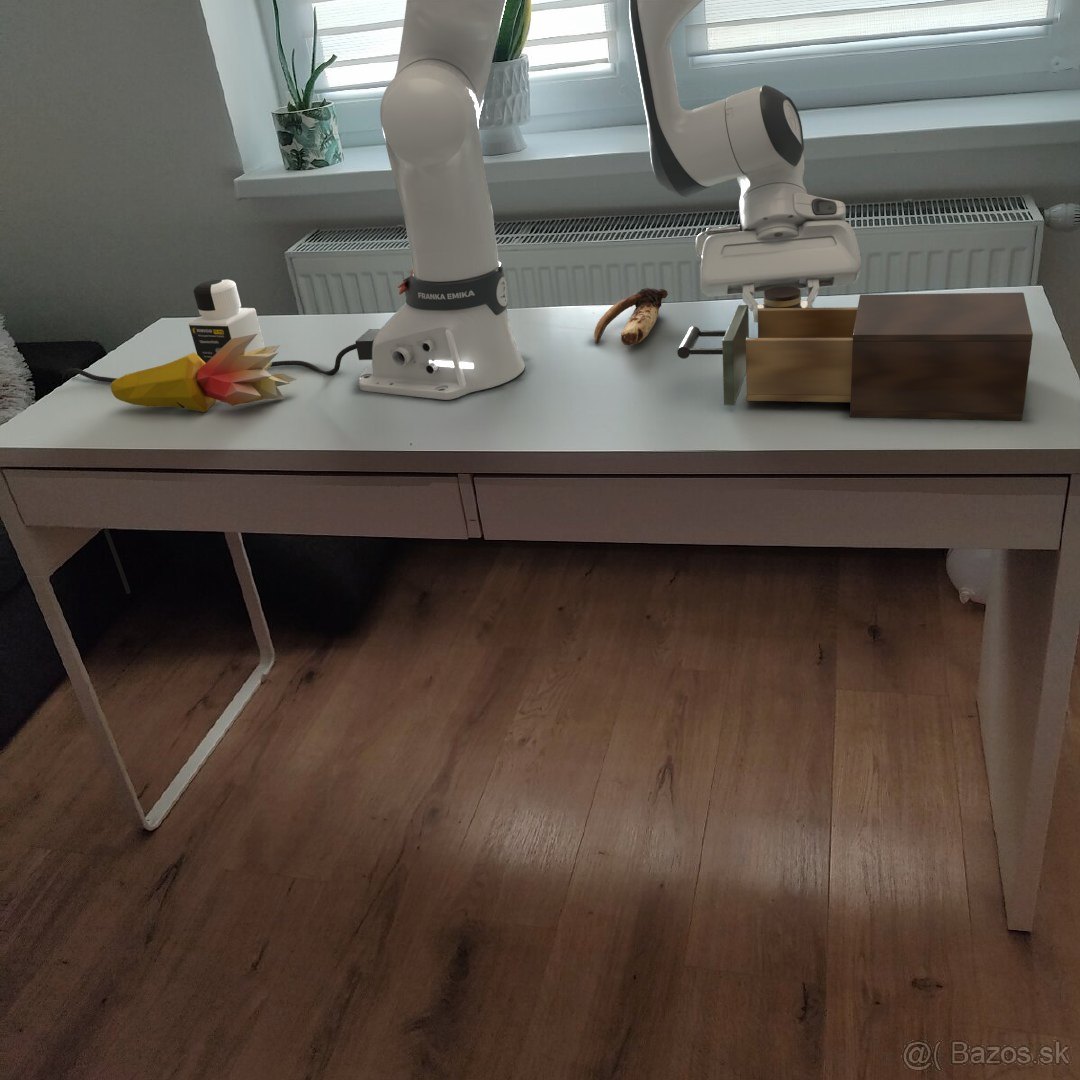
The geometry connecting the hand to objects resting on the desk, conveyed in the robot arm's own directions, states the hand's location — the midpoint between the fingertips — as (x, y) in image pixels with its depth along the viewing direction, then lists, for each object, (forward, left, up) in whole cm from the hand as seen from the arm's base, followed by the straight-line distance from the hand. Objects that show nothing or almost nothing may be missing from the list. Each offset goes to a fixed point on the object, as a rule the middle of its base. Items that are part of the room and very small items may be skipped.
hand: (783, 318), depth 135 cm
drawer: (+1, -13, -4) cm, 14 cm away
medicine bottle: (-80, -4, -5) cm, 80 cm away
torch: (-74, -21, -5) cm, 77 cm away
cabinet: (+18, -13, -4) cm, 23 cm away
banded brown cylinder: (0, +1, -4) cm, 4 cm away
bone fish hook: (-22, +8, -5) cm, 24 cm away
